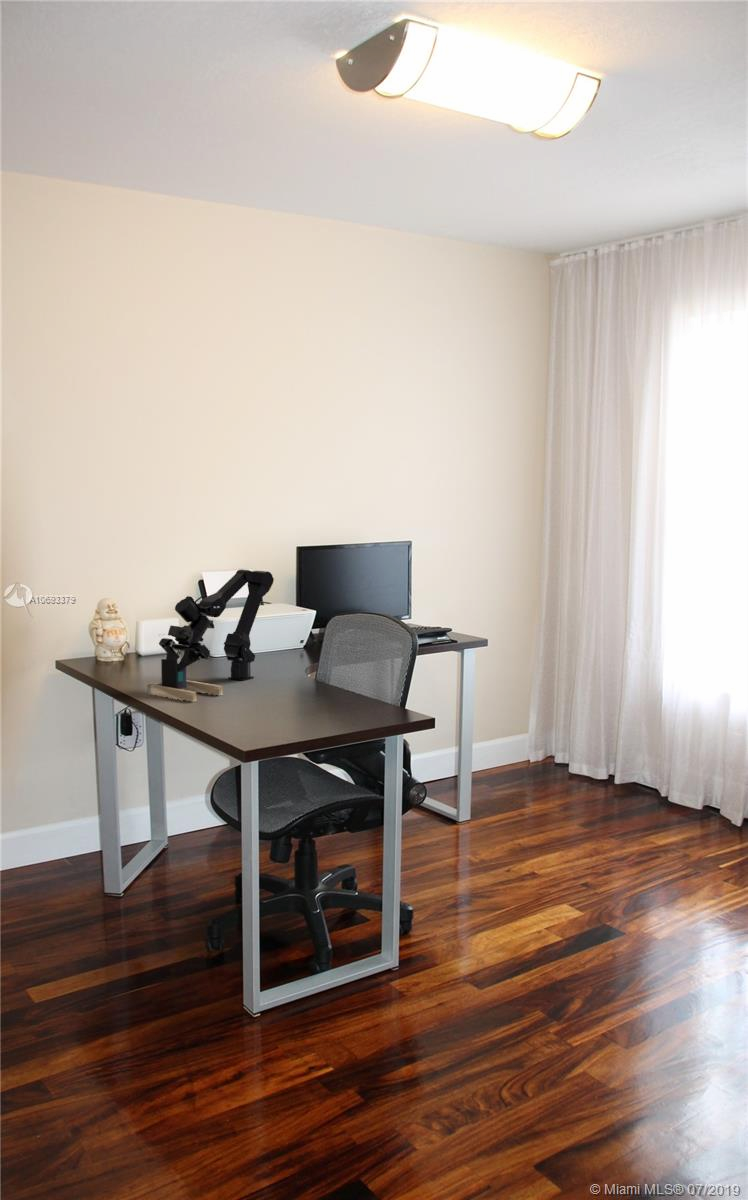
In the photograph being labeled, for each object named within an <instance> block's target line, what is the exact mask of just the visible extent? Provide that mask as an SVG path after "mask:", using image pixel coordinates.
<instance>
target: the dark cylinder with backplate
mask: <svg viewBox="0 0 748 1200" xmlns="http://www.w3.org/2000/svg"><path fill="white" fill-rule="evenodd" d="M179 663H180V662H179ZM179 663H178V659H166V658H164V659H163V658H162V659H161V664H160V665H161V669H160V670H161V682H162V686H165V687H170V688H176V689H178V688H187V680H188V679H187V667H185V668H183V669H182V670H180V671H177V670H176V669H177V666H178V664H179Z"/></svg>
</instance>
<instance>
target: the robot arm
mask: <svg viewBox="0 0 748 1200" xmlns="http://www.w3.org/2000/svg"><path fill="white" fill-rule="evenodd" d="M273 584H274V577H273V574H272V573H271V572H270V571H265V570H253V571H251V570H249V569H243V568H242V569H238V570H237V571H235V574H234V575H233V576H232V577H231V578H230V579H229V580H227V582H225V584H223V586H221V588H219V589H218V590H217V591H216V592H214V593H212V594H211V595H207V596H206V597H205V598H203V599H202V600H200V601H199V602H198V603H197V602H196V601H195V600H194V598H193V597H192V596H189V595H188V596H187V595H186V597H185V598H183V599H181V600H179V602H177V603H176V604H175V606H174V611H175V612H176V613H177V614H178V615H179V616H180V617H181V618H182V620H183V621H185V623H189V624H188V625H183V626H178V625H169V629H168V632H167V636H168V637H170V636H171V637H174V640H173V638H168V637H167V638H166V637H163V638H161V639H160V640H159V642H158V645H159V646H160V647H161V648H162V649H163V650H164V651H165V653H166V658H165V659H177V660H178V659H180V658H181V659H180V660H179V664H178V663H177V664H178V666H177V669H176V670H177V671H180V670H182V669H183V668H185V667H186V668H187V667H188V666H190V665H192V664H193V663H195V662H197V661H200V660H208V659H209V657H210V656H211V651H210V650H209V648H208V647H207V646H206V645H205V644H204V643H203V642H204V640H205V639H204V638H203V637H204V635H205V633H206V631H207V630H208V629H215V625H214V620H212V619H209V618H219V617H220V616H221V615H222V613H223V612H224V611H225V609H226V608H227V603H228V602H229V601H230V600H231V599H232V598H233V597H234V596H235V595H236V594H237V593H238V592H239V591H240V590H241V589H242V588H243V587H244V586H245V585H247V589H248V594H247V597H246V600H245V603H244V605H243V608H242V612H241V614H240V617H239V620H238V622H237V625H236V628H235V630H234V631H233V632H232V633H228V632H227V633H228V634H227V635H226V638H225V641H224V643H223V645H224V646H223V651H224V653H225V656H226V659H227V661H231V663H230V664H231V665H230V676H228V677H227V678H228V680H236V681H241V680H242V681H246V680H250V678H251V679H254V678H255V676H253V675H251V663H252V662H255V660H256V654H255V653H254V652H253V651H252V650H251V649H250V648H251V639H250V634H251V631H252V628H253V625H254V622H255V619H256V617H257V613H258V611H259V607H260V605H261V603H262V600H263V597H264V596H265V595H266V594H267V593H268V592H270V590H271V588H272V586H273ZM175 641H176V642H177V643H176V642H175ZM179 651H181V652H183V655H182V657H180V655H179V654H178V653H179Z"/></svg>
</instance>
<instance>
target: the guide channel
mask: <svg viewBox="0 0 748 1200" xmlns="http://www.w3.org/2000/svg"><path fill="white" fill-rule="evenodd" d="M146 688H147V695H150V694H152V695H151V696H155V695H157V697H161V696H162V698H166V697H168V698H167V699H172V698H173V699H174V700H177V699H179V701H183V700H186V701H185V702H188V701H191V702H190V703H195V702H194V701H196V702H197V693H199V692H201V693H200V694H205V693H208V694H207V695H211V694H213V696H216V695H218V696H217V697H221V696H223V688H224V687H223V685H219V684H212V683H206V682H201V681H200V682H199V681H195V680H188V679H187V688H178V689H176V688H170V687H165V686H162V681H160V682H156V683H155V682H154V683H150V684H147V687H146ZM182 689H184V690H182ZM188 690H191V691H188ZM193 691H196V692H193ZM220 695H221V696H220ZM173 699H172V700H173Z"/></svg>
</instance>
